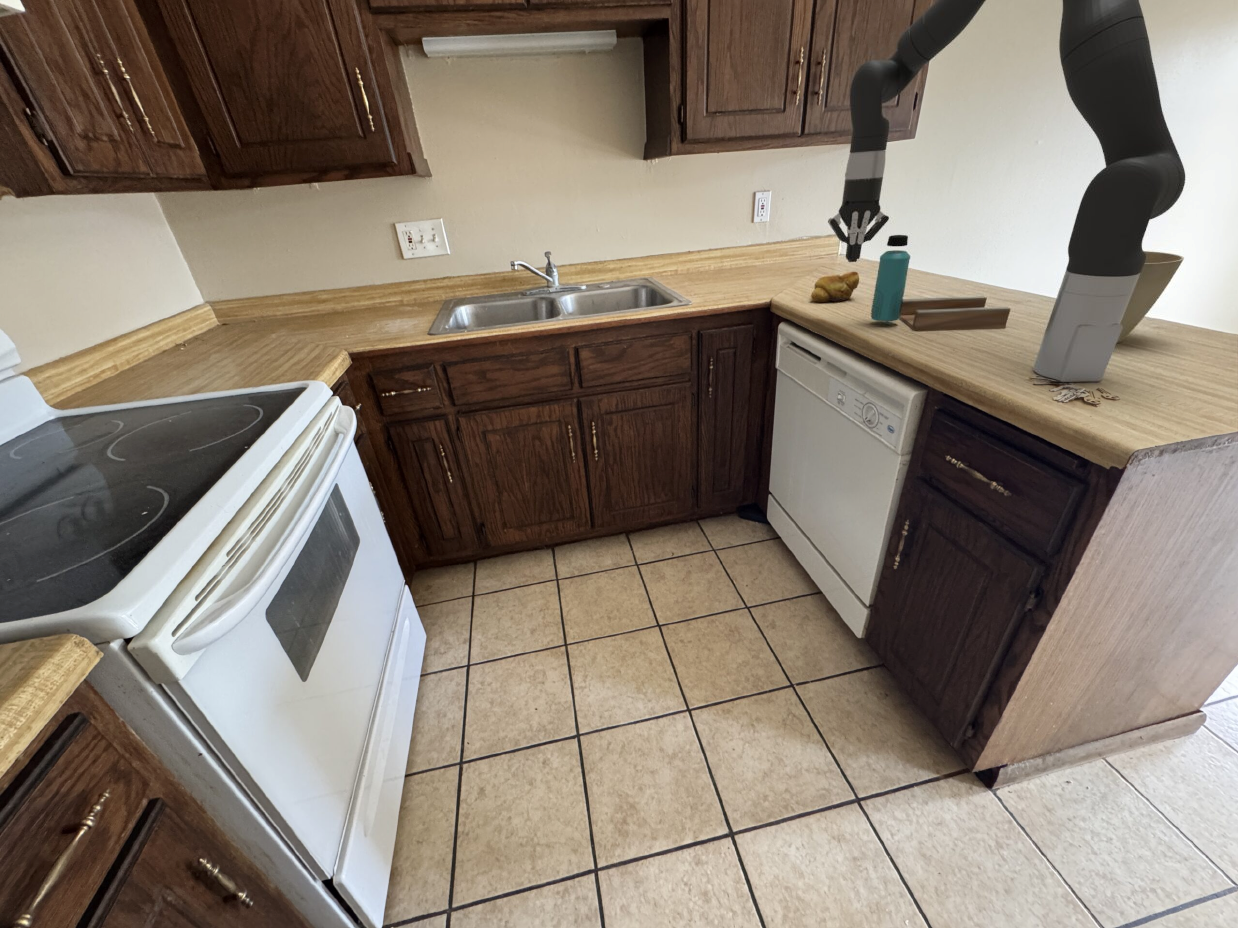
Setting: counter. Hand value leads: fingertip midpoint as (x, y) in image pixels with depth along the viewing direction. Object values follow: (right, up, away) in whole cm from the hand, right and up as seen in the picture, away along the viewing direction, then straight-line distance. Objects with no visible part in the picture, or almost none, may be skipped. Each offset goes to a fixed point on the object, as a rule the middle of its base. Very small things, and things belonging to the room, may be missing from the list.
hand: (852, 261), depth 120 cm
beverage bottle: (+10, -13, +6) cm, 18 cm away
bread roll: (+8, +1, +32) cm, 32 cm away
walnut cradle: (+25, -13, +4) cm, 28 cm away
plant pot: (+45, -21, -13) cm, 51 cm away
